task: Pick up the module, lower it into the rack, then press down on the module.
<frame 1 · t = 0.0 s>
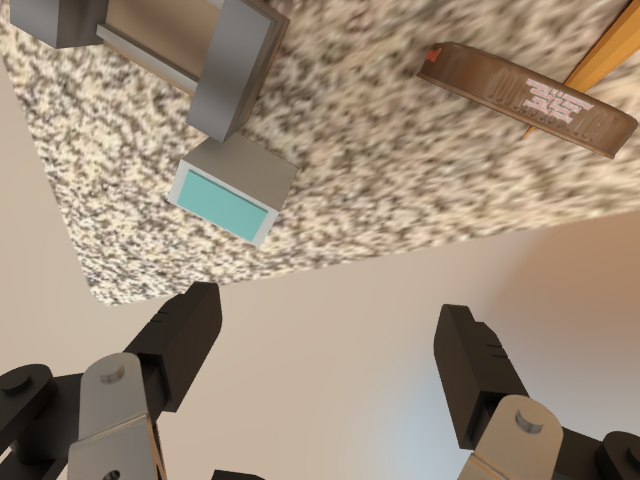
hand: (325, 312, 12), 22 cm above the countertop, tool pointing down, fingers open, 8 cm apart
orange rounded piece: (627, 15, 24), on the countertop, touching tin
module: (254, 163, 33), on the countertop
tin: (501, 88, 27), on the countertop, touching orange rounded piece
rack: (181, 21, 27), on the countertop
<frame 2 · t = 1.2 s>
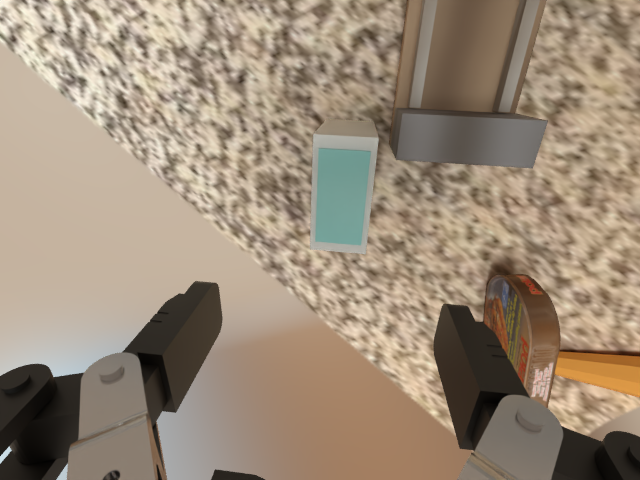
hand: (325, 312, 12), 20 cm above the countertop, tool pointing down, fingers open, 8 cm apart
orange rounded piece: (559, 352, 37), on the countertop, touching tin
module: (346, 166, 30), on the countertop
tin: (498, 319, 35), on the countertop, touching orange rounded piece
rack: (463, 41, 25), on the countertop
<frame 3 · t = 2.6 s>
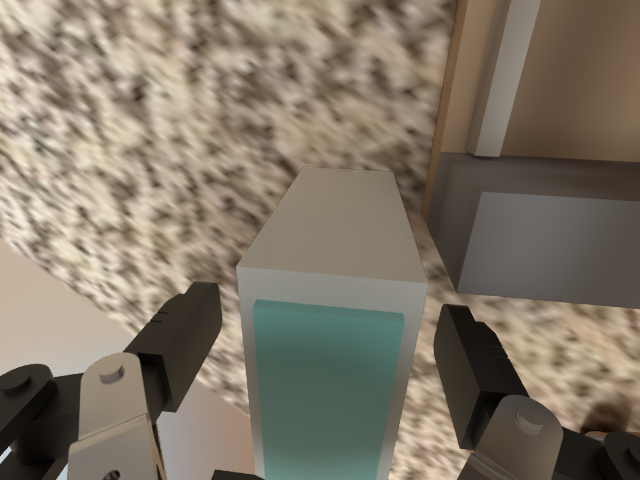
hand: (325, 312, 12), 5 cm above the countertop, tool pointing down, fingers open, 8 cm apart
module: (342, 247, 17), on the countertop
rack: (590, 10, 11), on the countertop
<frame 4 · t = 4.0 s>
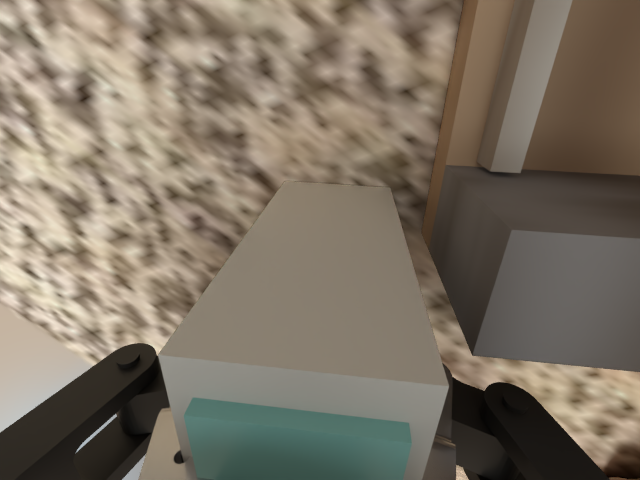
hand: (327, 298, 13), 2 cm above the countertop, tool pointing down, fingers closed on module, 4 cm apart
module: (331, 274, 14), on the countertop, touching gripper
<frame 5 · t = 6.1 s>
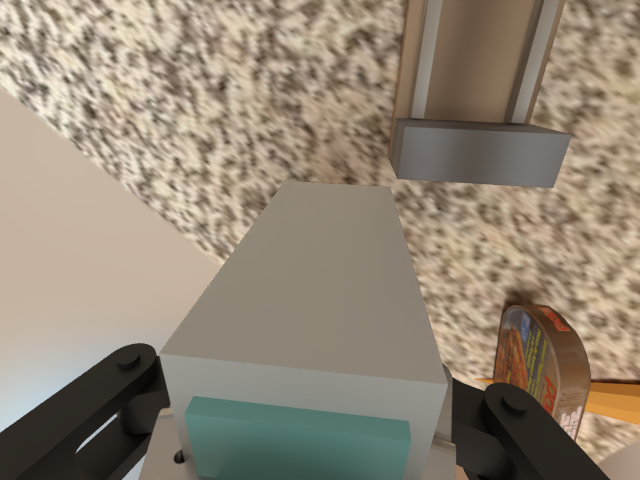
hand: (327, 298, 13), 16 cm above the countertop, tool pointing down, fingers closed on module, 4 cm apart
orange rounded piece: (571, 380, 34), on the countertop
module: (331, 273, 14), point 14 cm above the countertop, touching gripper
tin: (512, 348, 33), on the countertop
rack: (470, 43, 22), on the countertop
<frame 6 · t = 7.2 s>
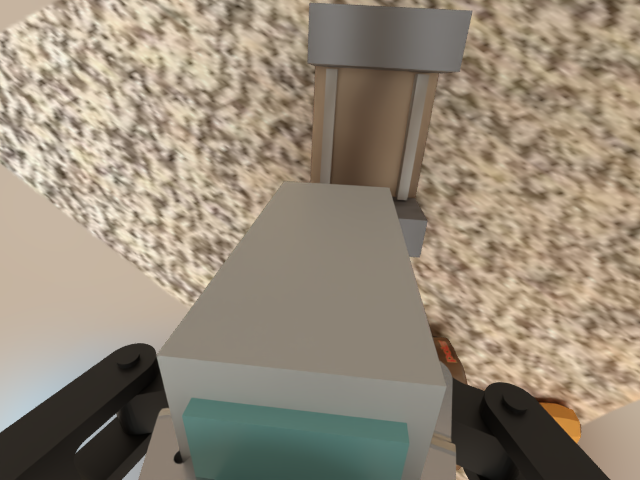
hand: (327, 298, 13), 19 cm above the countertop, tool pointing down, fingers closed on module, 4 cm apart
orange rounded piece: (480, 398, 40), on the countertop
module: (331, 274, 14), point 17 cm above the countertop, touching gripper
tin: (429, 371, 39), on the countertop
rack: (367, 134, 28), on the countertop
when the fingers open (4 cm above the countertop, at t = 10.7 s): module stays where it is, resting on rack.
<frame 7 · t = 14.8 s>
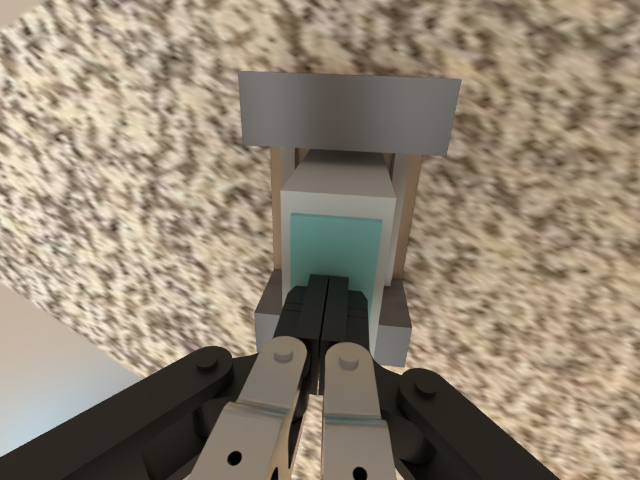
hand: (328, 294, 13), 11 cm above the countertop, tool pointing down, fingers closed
module: (342, 210, 21), point 1 cm above the countertop, touching gripper, rack
rack: (342, 203, 23), on the countertop
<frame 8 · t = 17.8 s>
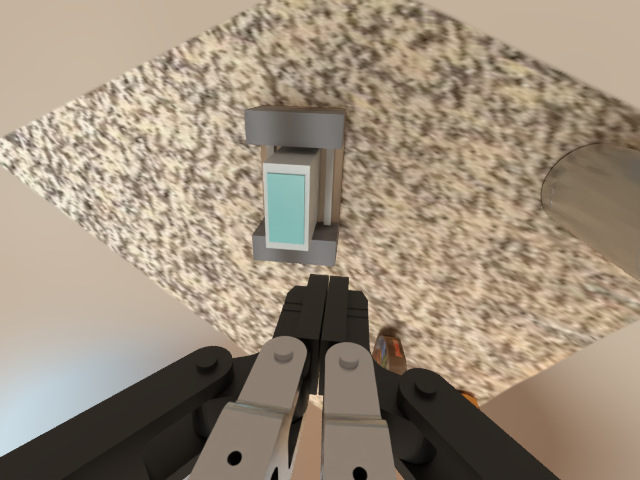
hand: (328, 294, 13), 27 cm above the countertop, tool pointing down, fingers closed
module: (302, 181, 37), point 1 cm above the countertop, touching rack
tin: (381, 361, 50), on the countertop, touching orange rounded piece
rack: (303, 178, 39), on the countertop
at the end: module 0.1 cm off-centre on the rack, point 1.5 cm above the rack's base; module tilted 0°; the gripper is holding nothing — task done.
